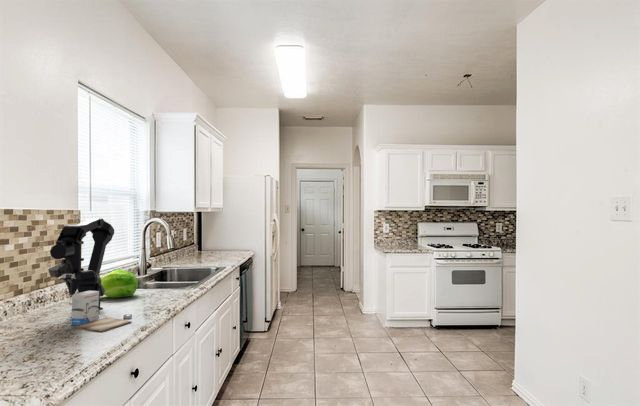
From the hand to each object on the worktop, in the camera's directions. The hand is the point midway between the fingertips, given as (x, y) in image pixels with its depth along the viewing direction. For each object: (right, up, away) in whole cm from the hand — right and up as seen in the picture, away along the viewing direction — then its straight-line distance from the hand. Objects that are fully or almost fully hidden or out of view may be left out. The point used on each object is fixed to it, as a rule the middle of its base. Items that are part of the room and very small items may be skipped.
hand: (72, 294), depth 151 cm
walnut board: (+17, -10, -7) cm, 21 cm away
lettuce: (-6, -11, +40) cm, 42 cm away
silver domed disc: (+21, -11, +3) cm, 23 cm away
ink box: (+7, -10, -3) cm, 13 cm away
